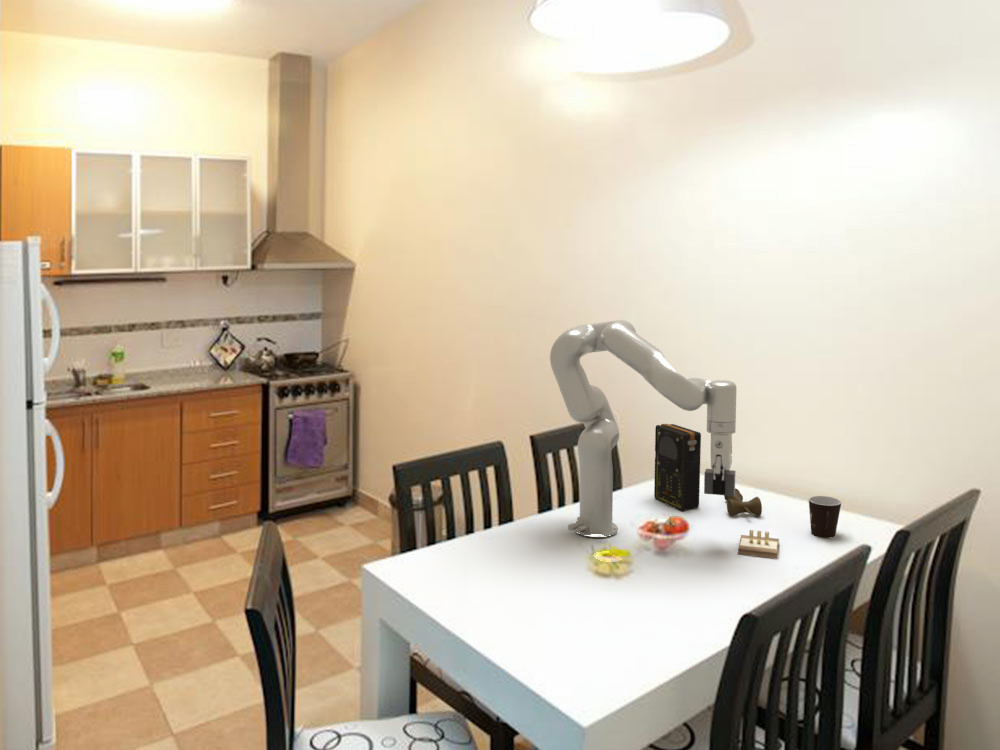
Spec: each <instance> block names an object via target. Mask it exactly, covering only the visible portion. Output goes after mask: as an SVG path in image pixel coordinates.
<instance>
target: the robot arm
mask: <svg viewBox="0 0 1000 750" xmlns="http://www.w3.org/2000/svg"><path fill="white" fill-rule="evenodd" d="M598 352H609V353H610V354H612V355H613V356H615V357H616V358H617V359H618V360H620V361H621V362H622V363H624V364H626V365H627V366H629V367H630V368H631V369H632V370H634V371H635V372H637V373H638V374H639V375H640V376H642V377H643V379H644V380H645V381H646V382H647V383H648V384H650V386H652V388H654V390H655V391H657V392H658V393H659V394H660V395H661V396H663V397H664V398H665V399H667V400H668V401H670V402H671V403H672V404H674V405H675V406H677V407H678V408H679V409H682V410H684V411H687V412H692V411H696V410H698V409H700V408H701V407H702V405H706V432H707V433H709V434H710V469H714V479H713V494H712V495H714V494H719V495H718V496H724V494H725V480H724V473H725V470H727V471H728V470H730V469H731V468H732V463H733V437H732V436H733V434H735V433H736V425H737V423H736V422H737V421H736V420H737V385H736V383H735V382H733V381H731V380H726V379H719V380H711V379H704V378H698V377H691V378H686V377H684V376H683V375H682V374H680V373H679V372H678V371H677V370H675V369H674V368H673V367H672V365H670V363H669V362H668V361H667V360H666V357H665V355H664V354H663V352H662V351H661V350H660V349H659V348H658V347H656V346H655V345H653V344H652V343H650V342H649V341H648V340H646V339H645V338H644V337H642V336H641V335H639V334H638V333H637V331H636V328H635V327H634V325H633V324H632V323H630V322H629V321H627V320H623V319H617V320H612V321H605V322H604V321H603V322H597V323H596V322H595V323H588V324H580V325H577V326H575V327H571V328H569V329H566V330H565V331H563V332H562V333H561V334H560V335H559V336H558V337H557V338H556V339H555V341H554V343H553V344H552V346H551V349H550V353H549V361H550V366H551V369H552V373H553V375H554V377H555V381H556V382H557V384H558V387H559V391H560V394H561V395H562V398H563V401H564V403H565V406H566V409H567V412H568V414H569V417H570V418H571V419H572V420H573V421H575V422H576V423H580V424H583V425H584V429H583V431H582V432H580V435H579V437H578V442H577V454H578V462H579V463H578V465H579V516H577V518H576V521H575V522H573V523H569V524H567V529H568V531H570V532H572V531H574V532H575V531H576V532H578V533H580V534H582V535H591V534H602V535H604V536H609V535H613V534H615V535H617V533H618V532H617V531H619V527H618V525H616V524H615V523H613V512H614V511H613V507H614V506H613V505H614V504H613V501H614V499H613V495H614V494H613V493H614V491H613V488H614V485H613V484H614V481H613V480H614V472H613V470H614V469H613V467H614V465H613V460H612V459H613V458H612V457H613V455H612V454H613V453H612V451H613V449H614V448H615V446H617V444H618V442H619V440H620V439H619V438H620V430H619V427H618V423H617V421H616V418H615V416H614V414H613V411H612V408H611V406H610V404H609V400H608V399H607V396H606V394H605V392H603V391H602V389H600V387H598V386H596V385H593V384H590V381H589V379H588V377H587V373H586V372H585V369H584V367H583V366H582V364H581V360H580V359H581V358H582V357H584V356H586V355H588V354H590V353H591V354H592V353H598ZM721 471H722V473H721ZM576 532H575V533H576ZM613 536H614V535H613Z"/></svg>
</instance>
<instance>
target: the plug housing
mask: <svg viewBox="0 0 1000 750" xmlns="http://www.w3.org/2000/svg"><path fill="white" fill-rule="evenodd" d="M721 473H722V471H721ZM703 479H704V483H703V484H704V487H703V494H705V495H714V496H715V495H717V496H720V495H719V494H713V479H714V469H712V468H706V469H705V470H704V478H703ZM724 480H725V494H724V495H726V496H734V494H735V488H736V470H732V469H731V470H730V469H729V470H728V471H727V469H726V470H725V473H724ZM724 495H723V496H724Z"/></svg>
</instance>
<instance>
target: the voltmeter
mask: <svg viewBox="0 0 1000 750" xmlns="http://www.w3.org/2000/svg"><path fill="white" fill-rule="evenodd" d="M654 431H655V434H654V437H655V438H654V441H655V442H654V452H655V454H654V455H655V457H654V485H653V486H654V490H653V491H654V492H653V495H654V499H655V500H657V501H660V502H662V503H664V504H665V503H666V504H665V505H667V504H668V506H669V505H670V506H669V507H672V508H674V507H675V508H674V509H676V510H678V511H681V512H685V511H687V510H692V509H697V508H699V506H700V487H701V486H700V484H701V483H700V481H701V480H700V479H701V478H700V477H701V452H702V451H701V449H702V448H701V447H702V446H701V445H702V434H701V432H700V431H696V430H694V429H693V430H692V429H689V428H687V427H683V426H681V425H678V424H674V423H670V424H668V423H661V424H656V426H655V429H654Z"/></svg>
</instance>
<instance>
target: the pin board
mask: <svg viewBox="0 0 1000 750" xmlns="http://www.w3.org/2000/svg"><path fill="white" fill-rule="evenodd" d="M756 533H757V534H756V536H755V535H754V530H752V529H750V530H749V535H747V534H744V535H743V534H741V535H740V538H739V542H738V549H737V555H741V554H742V555H743V556H751V557H752V556H753V557H758V558H767V559H778V554H779V544H780V539H779V538H773V537H770V532H769V531H765V532H764V536H762V531H761V530H757V532H756Z"/></svg>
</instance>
